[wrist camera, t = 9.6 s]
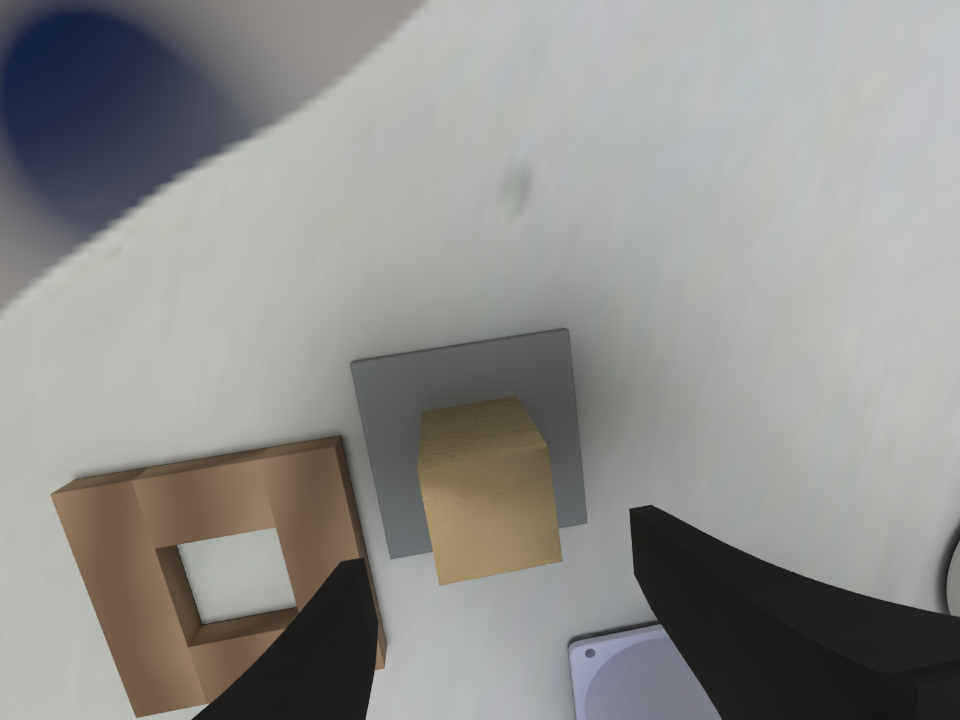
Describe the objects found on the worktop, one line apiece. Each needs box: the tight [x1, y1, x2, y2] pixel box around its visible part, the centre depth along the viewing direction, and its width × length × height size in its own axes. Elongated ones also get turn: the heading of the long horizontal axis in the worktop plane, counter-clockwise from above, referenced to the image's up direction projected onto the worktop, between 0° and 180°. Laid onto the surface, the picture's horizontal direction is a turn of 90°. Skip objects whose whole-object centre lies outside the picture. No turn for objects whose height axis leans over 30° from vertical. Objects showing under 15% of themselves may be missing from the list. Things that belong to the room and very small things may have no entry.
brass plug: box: [417, 396, 562, 585], centre depth 17 cm, size 4×4×6 cm
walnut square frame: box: [50, 436, 387, 718], centre depth 19 cm, size 11×11×1 cm
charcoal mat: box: [350, 328, 587, 559], centre depth 20 cm, size 9×9×1 cm
